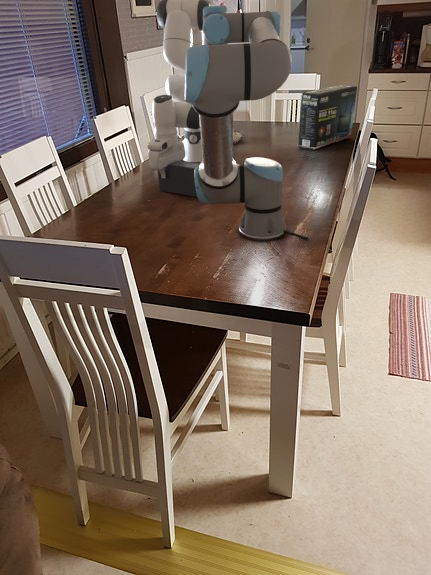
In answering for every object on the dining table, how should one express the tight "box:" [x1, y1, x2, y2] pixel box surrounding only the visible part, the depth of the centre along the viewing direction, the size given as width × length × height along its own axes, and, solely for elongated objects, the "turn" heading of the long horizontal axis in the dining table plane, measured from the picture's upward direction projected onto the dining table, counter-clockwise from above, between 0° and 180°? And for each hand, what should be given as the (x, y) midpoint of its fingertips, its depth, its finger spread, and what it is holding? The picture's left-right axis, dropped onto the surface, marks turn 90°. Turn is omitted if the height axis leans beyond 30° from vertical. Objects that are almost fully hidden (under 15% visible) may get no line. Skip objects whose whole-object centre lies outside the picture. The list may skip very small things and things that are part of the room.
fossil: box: [233, 127, 246, 145], centre depth 254 cm, size 18×11×15 cm
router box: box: [297, 84, 358, 151], centre depth 238 cm, size 36×11×27 cm, turn 134°
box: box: [157, 160, 200, 198], centre depth 183 cm, size 20×6×11 cm, turn 60°
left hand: (169, 175), depth 186 cm, fingers closed on box, 6 cm apart
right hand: (218, 132), depth 156 cm, fingers open, 13 cm apart
